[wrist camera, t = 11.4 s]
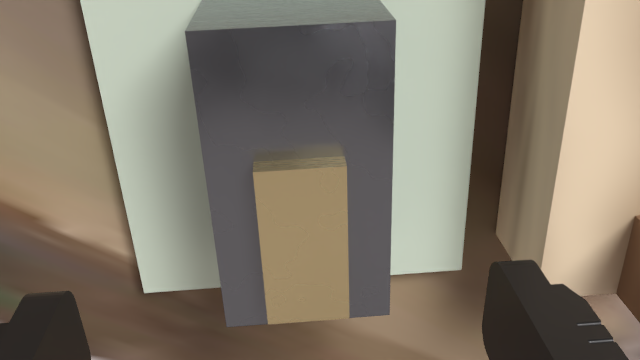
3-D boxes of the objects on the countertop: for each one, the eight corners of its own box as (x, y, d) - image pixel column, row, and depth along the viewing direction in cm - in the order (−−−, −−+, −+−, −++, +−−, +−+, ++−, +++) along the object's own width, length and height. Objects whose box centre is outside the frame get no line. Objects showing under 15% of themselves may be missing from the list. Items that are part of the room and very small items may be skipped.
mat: (148, 280, 23) (144, 293, 22) (77, -53, 17) (69, -50, 17) (455, 257, 24) (461, 269, 23) (483, -72, 18) (491, -70, 17)
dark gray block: (233, 252, 22) (225, 340, 18) (202, -2, 18) (181, 37, 13) (370, 242, 22) (392, 328, 18) (371, -11, 18) (401, 25, 14)
